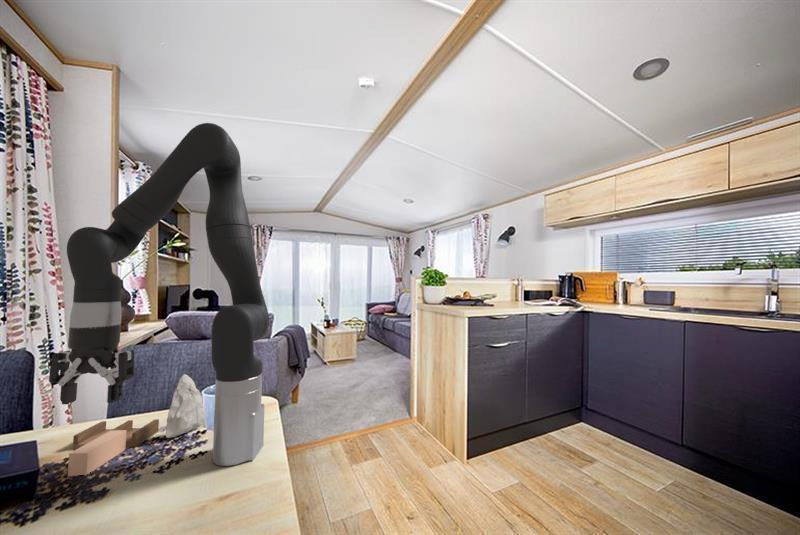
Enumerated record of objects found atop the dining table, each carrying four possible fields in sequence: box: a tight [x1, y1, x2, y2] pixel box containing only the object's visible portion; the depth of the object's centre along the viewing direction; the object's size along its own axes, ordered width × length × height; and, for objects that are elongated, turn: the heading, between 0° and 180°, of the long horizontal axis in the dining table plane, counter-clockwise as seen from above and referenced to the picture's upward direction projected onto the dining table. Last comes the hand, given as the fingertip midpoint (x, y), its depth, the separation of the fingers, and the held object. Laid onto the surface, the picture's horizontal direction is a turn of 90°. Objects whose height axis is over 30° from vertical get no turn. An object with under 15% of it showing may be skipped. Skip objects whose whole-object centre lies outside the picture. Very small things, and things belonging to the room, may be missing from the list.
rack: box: [72, 419, 160, 450], centre depth 71 cm, size 14×7×3 cm, turn 95°
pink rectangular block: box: [67, 430, 127, 477], centre depth 62 cm, size 3×9×4 cm, turn 5°
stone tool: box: [165, 373, 205, 439], centre depth 74 cm, size 8×3×15 cm, turn 151°
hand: (91, 402), depth 60 cm, fingers open, 8 cm apart
